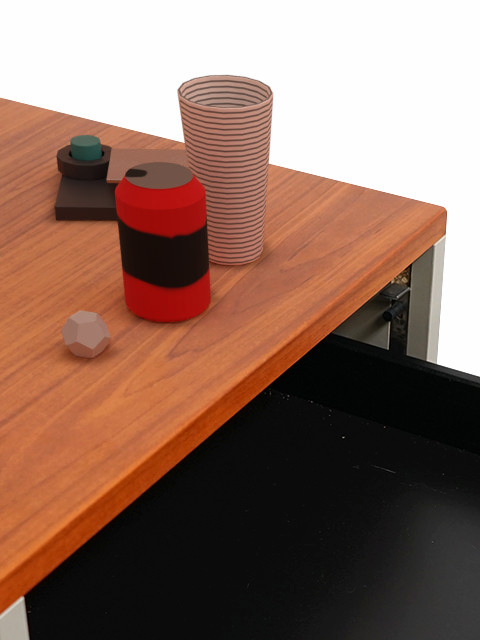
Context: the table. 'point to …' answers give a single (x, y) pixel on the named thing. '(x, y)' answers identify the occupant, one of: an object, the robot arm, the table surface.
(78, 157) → the button
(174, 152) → the pan
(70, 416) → the table surface
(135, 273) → the soda can
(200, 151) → the cup
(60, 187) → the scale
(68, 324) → the polyhedron
